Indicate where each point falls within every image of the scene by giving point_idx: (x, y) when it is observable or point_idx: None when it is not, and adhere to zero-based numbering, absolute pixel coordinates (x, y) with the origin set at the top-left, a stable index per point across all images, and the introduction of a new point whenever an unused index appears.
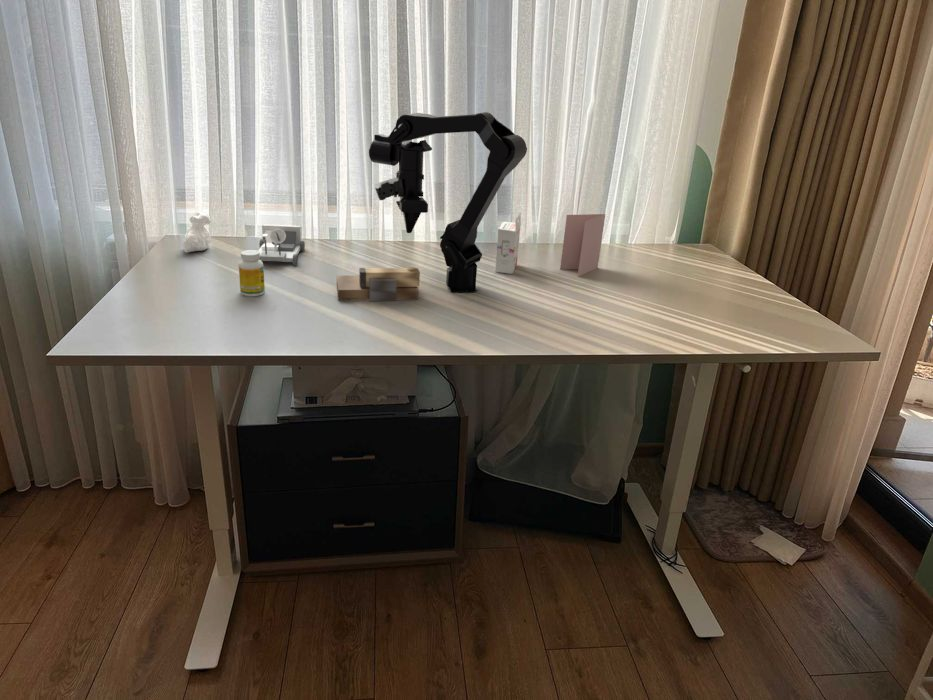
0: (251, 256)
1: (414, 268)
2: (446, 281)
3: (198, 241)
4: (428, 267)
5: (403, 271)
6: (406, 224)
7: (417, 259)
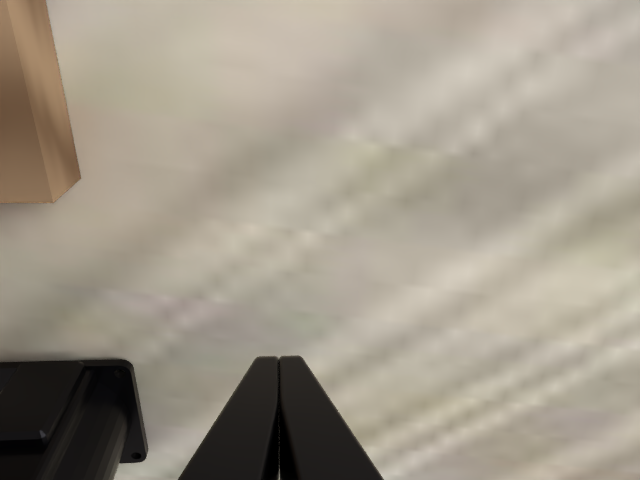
0: None
1: None
2: (64, 371)
3: None
4: (410, 307)
5: None
6: (200, 452)
7: (561, 270)
